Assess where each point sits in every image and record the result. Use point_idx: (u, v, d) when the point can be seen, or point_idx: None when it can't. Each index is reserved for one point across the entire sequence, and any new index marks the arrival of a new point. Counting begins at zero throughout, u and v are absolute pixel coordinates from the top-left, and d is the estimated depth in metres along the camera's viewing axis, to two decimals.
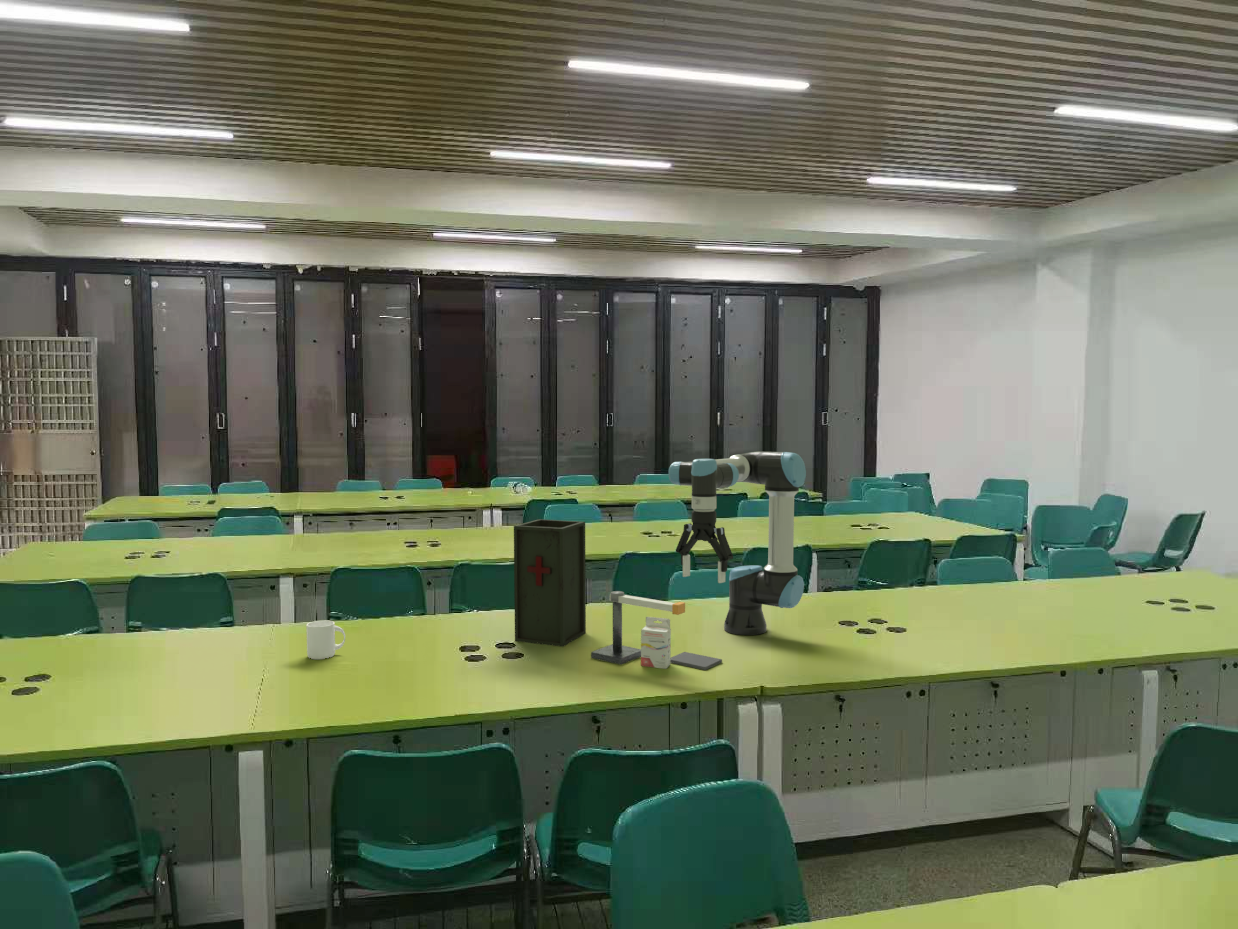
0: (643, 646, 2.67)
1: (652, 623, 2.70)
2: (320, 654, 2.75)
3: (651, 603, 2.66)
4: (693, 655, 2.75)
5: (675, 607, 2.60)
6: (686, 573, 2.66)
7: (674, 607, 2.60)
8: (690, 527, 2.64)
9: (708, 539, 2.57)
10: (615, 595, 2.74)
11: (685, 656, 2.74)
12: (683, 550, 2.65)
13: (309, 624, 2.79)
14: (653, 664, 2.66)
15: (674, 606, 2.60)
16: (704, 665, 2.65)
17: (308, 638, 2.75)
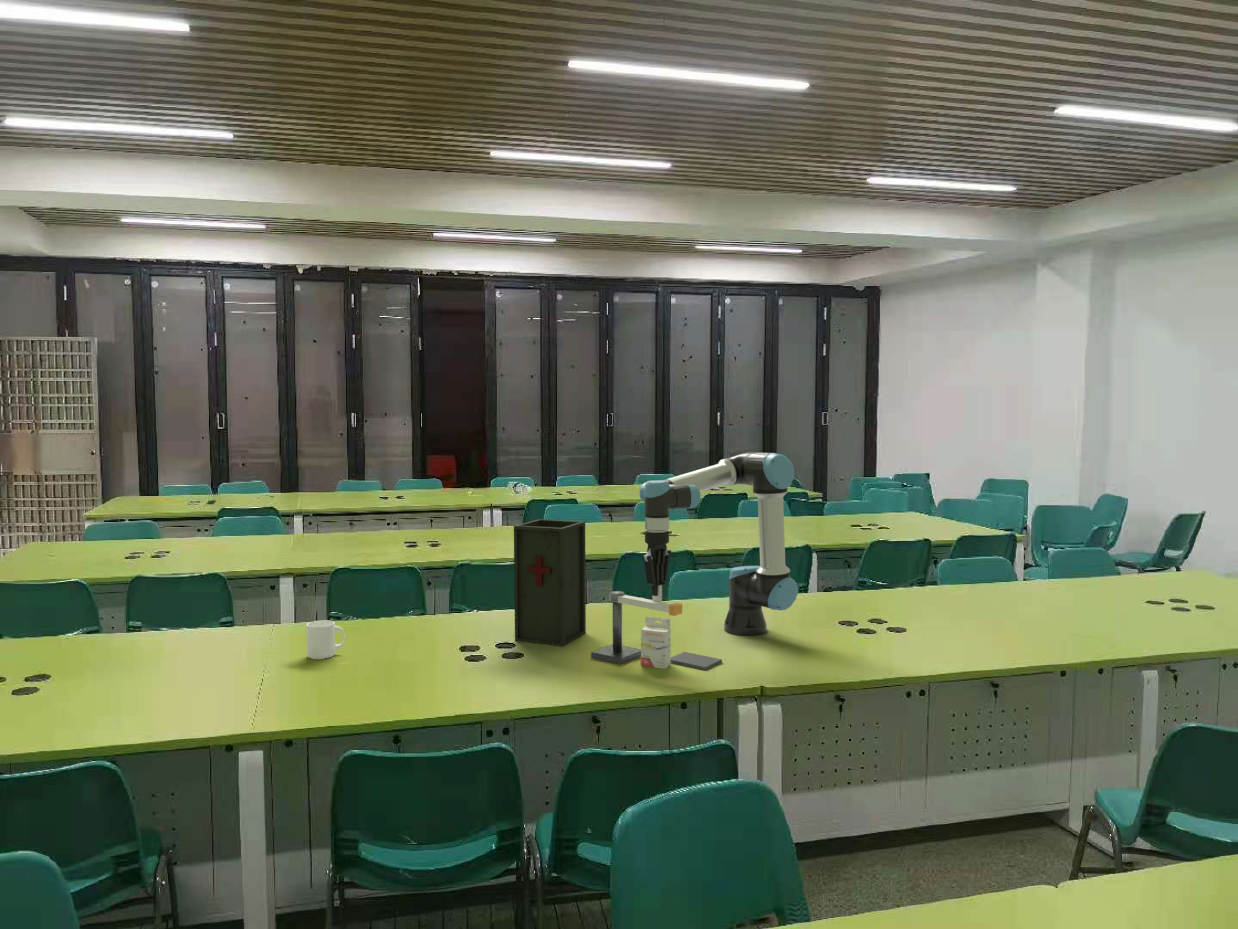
0: (643, 646, 2.67)
1: (652, 623, 2.70)
2: (320, 654, 2.75)
3: (649, 604, 2.65)
4: (693, 655, 2.75)
5: (671, 608, 2.59)
6: None
7: (670, 608, 2.59)
8: None
9: None
10: (615, 595, 2.74)
11: (685, 656, 2.74)
12: None
13: (309, 624, 2.79)
14: (653, 664, 2.66)
15: (670, 607, 2.59)
16: (704, 665, 2.65)
17: (308, 638, 2.75)
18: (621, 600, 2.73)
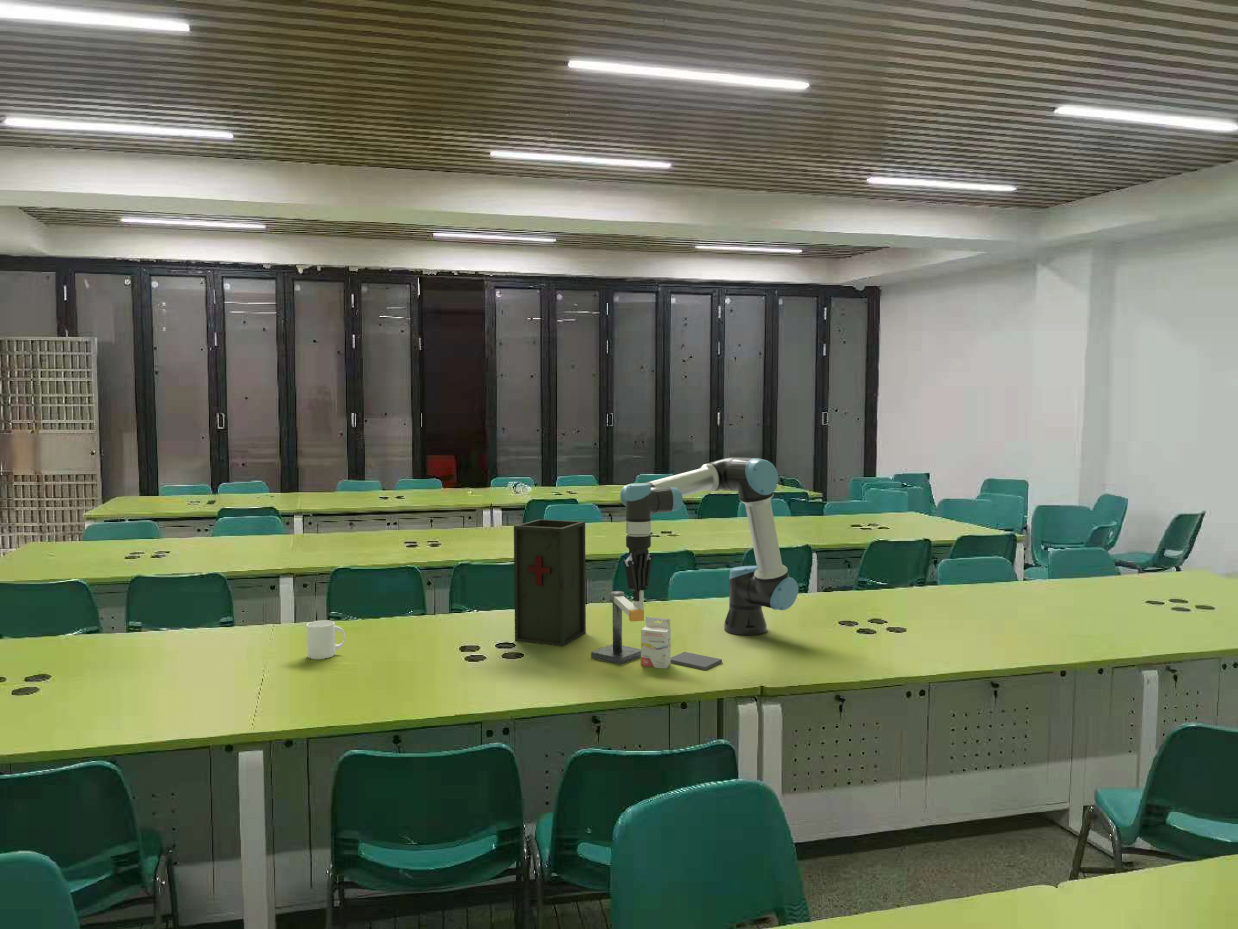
0: (643, 646, 2.67)
1: (652, 623, 2.70)
2: (320, 654, 2.75)
3: (623, 606, 2.62)
4: (693, 655, 2.75)
5: (630, 613, 2.52)
6: None
7: (629, 613, 2.53)
8: None
9: None
10: (611, 594, 2.74)
11: (685, 656, 2.74)
12: None
13: (309, 624, 2.79)
14: (653, 664, 2.66)
15: (629, 612, 2.53)
16: (704, 665, 2.65)
17: (308, 638, 2.75)
18: (615, 600, 2.73)
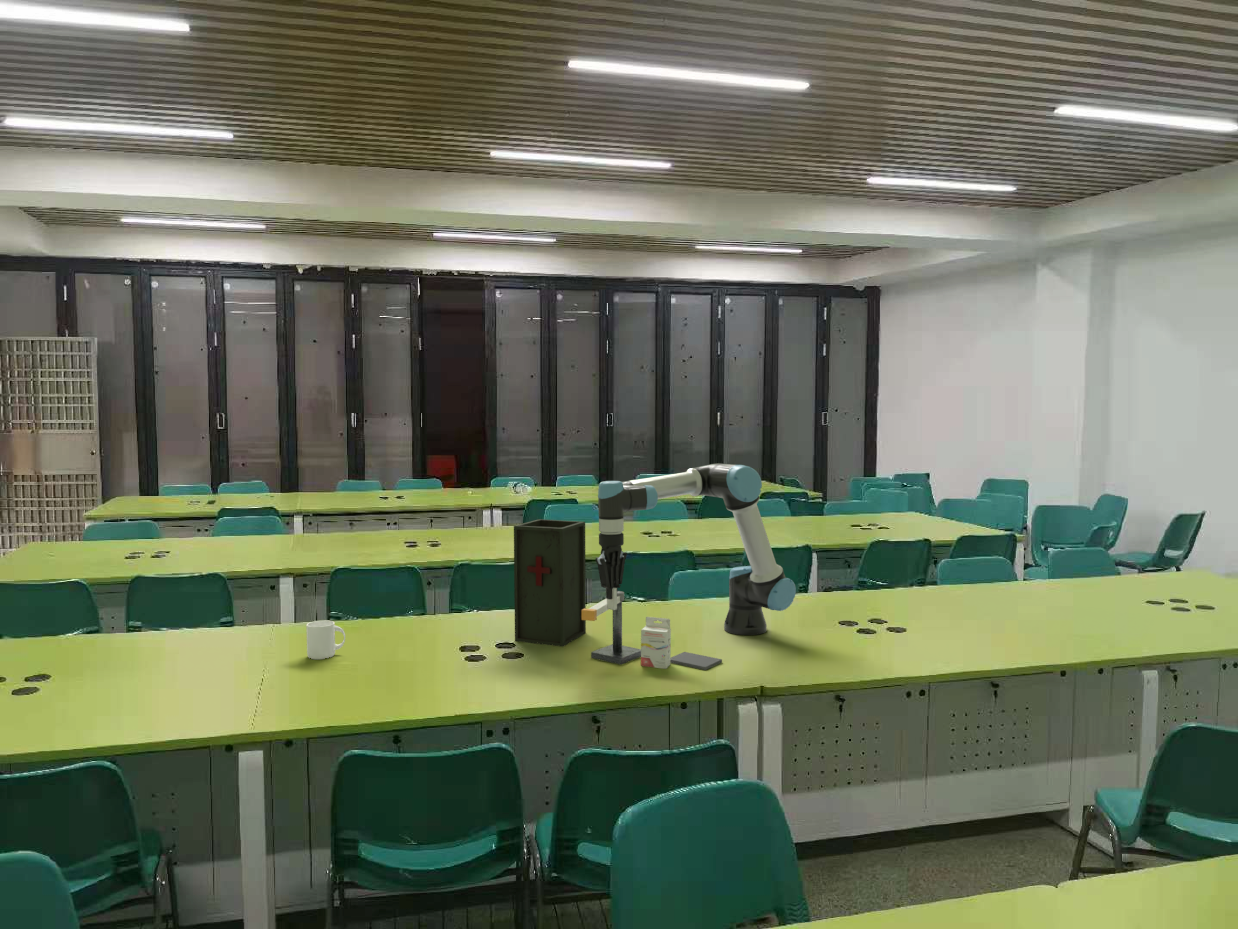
0: (643, 646, 2.67)
1: (652, 623, 2.70)
2: (320, 654, 2.75)
3: None
4: (693, 655, 2.75)
5: None
6: None
7: None
8: None
9: None
10: None
11: (685, 656, 2.74)
12: None
13: (309, 624, 2.79)
14: (653, 664, 2.66)
15: None
16: (704, 665, 2.65)
17: (308, 638, 2.75)
18: None
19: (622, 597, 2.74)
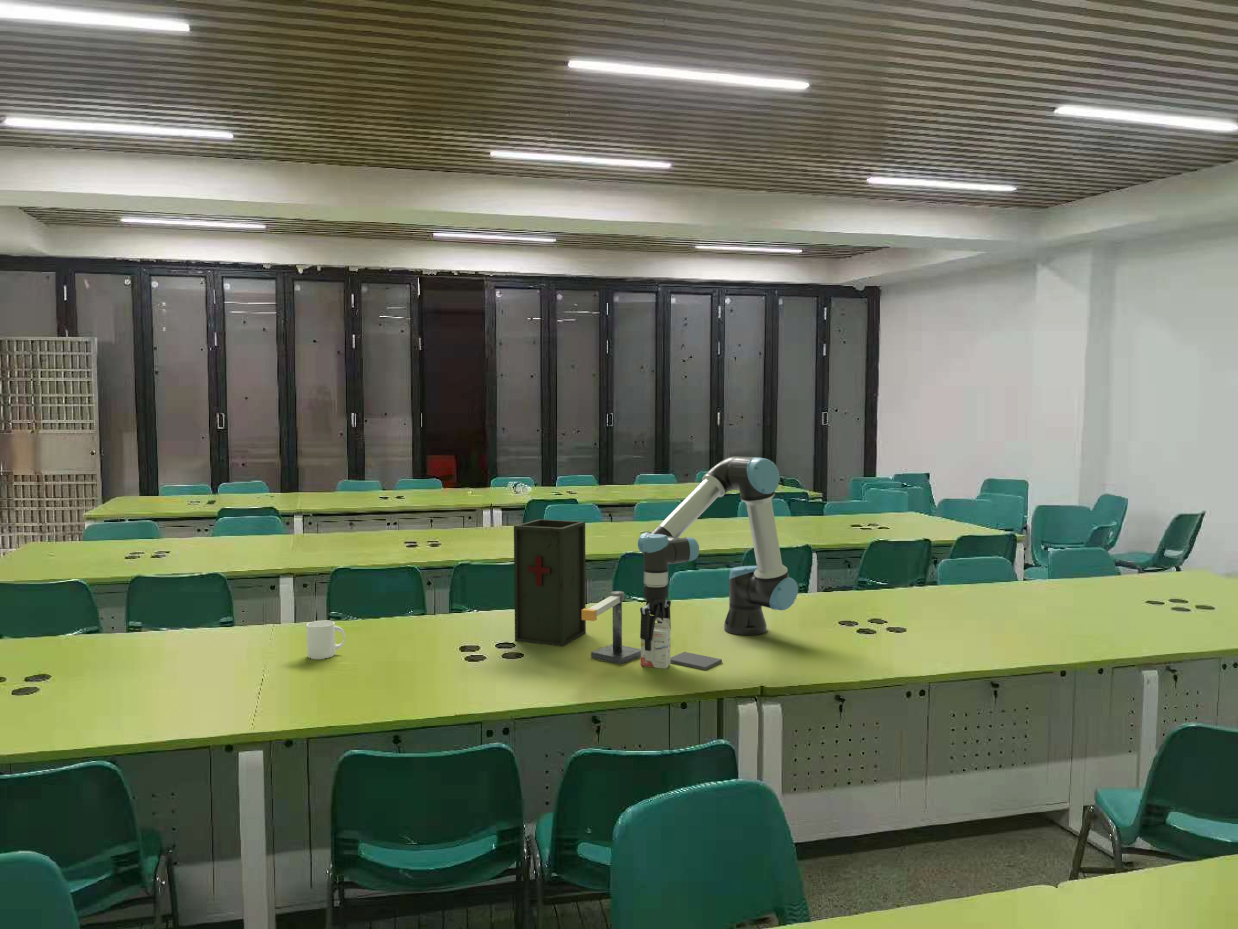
0: (643, 646, 2.67)
1: None
2: (320, 654, 2.75)
3: None
4: (693, 655, 2.75)
5: None
6: None
7: None
8: None
9: None
10: (610, 594, 2.76)
11: (685, 656, 2.74)
12: None
13: (309, 624, 2.79)
14: (653, 664, 2.66)
15: None
16: (704, 665, 2.65)
17: (308, 638, 2.75)
18: None
19: (622, 597, 2.74)
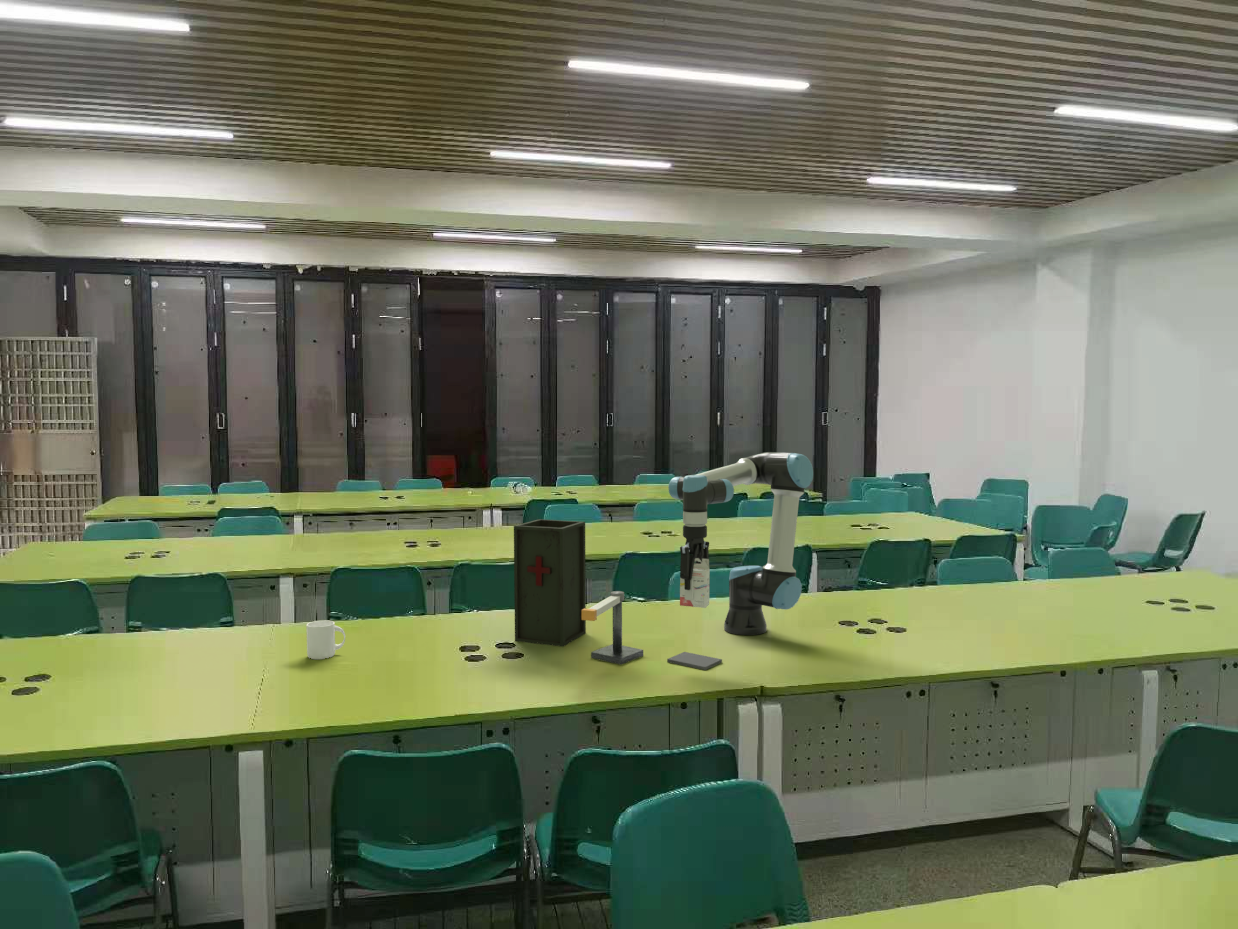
0: (682, 586, 2.69)
1: None
2: (320, 654, 2.75)
3: None
4: (693, 655, 2.75)
5: None
6: None
7: None
8: None
9: None
10: (610, 594, 2.76)
11: (685, 656, 2.74)
12: None
13: (309, 624, 2.79)
14: (693, 603, 2.68)
15: None
16: (704, 665, 2.65)
17: (308, 638, 2.75)
18: None
19: (622, 597, 2.74)
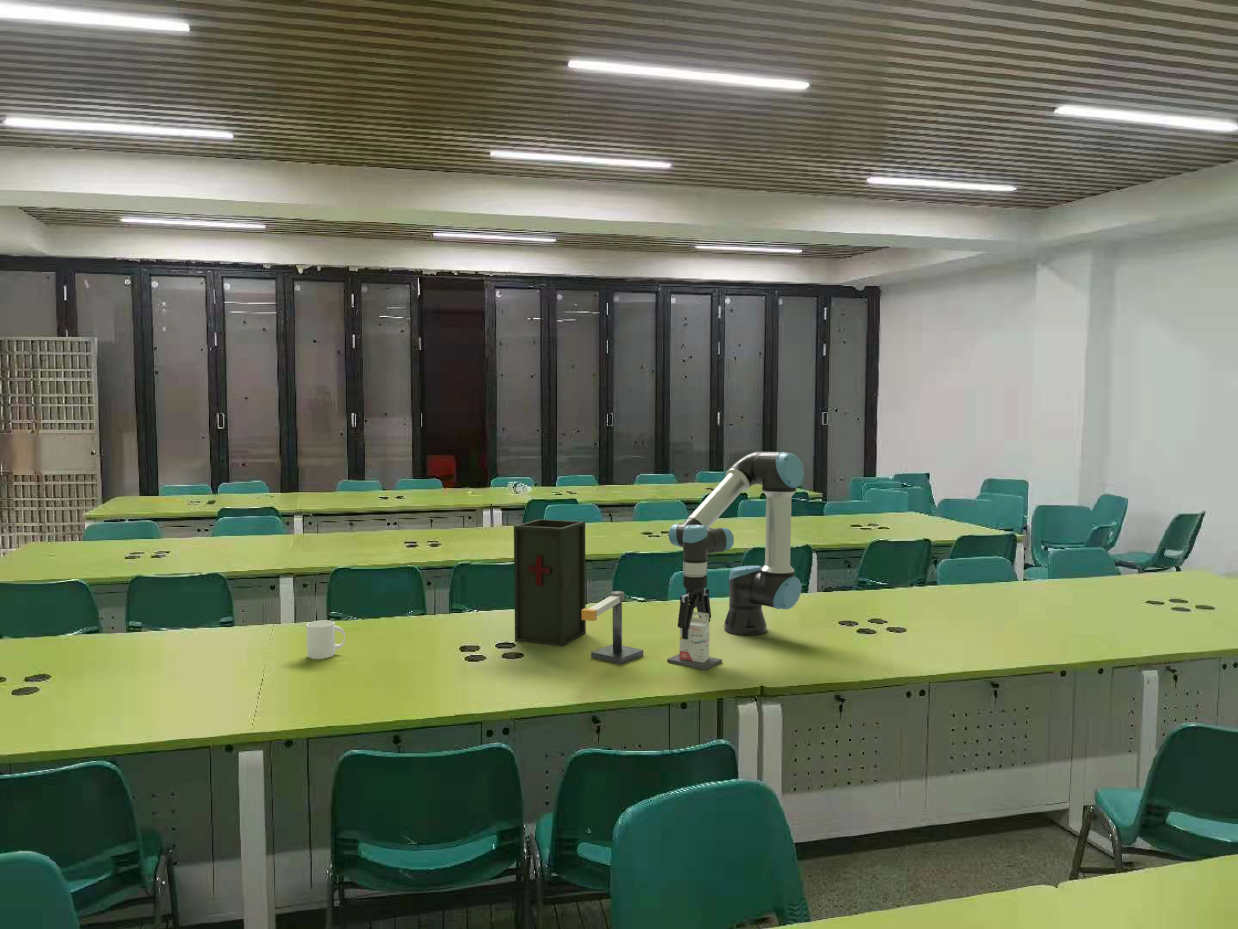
0: None
1: None
2: (320, 654, 2.75)
3: None
4: None
5: None
6: None
7: None
8: None
9: None
10: (610, 594, 2.76)
11: None
12: None
13: (309, 624, 2.79)
14: (692, 658, 2.69)
15: None
16: (704, 665, 2.65)
17: (308, 638, 2.75)
18: None
19: (622, 597, 2.74)
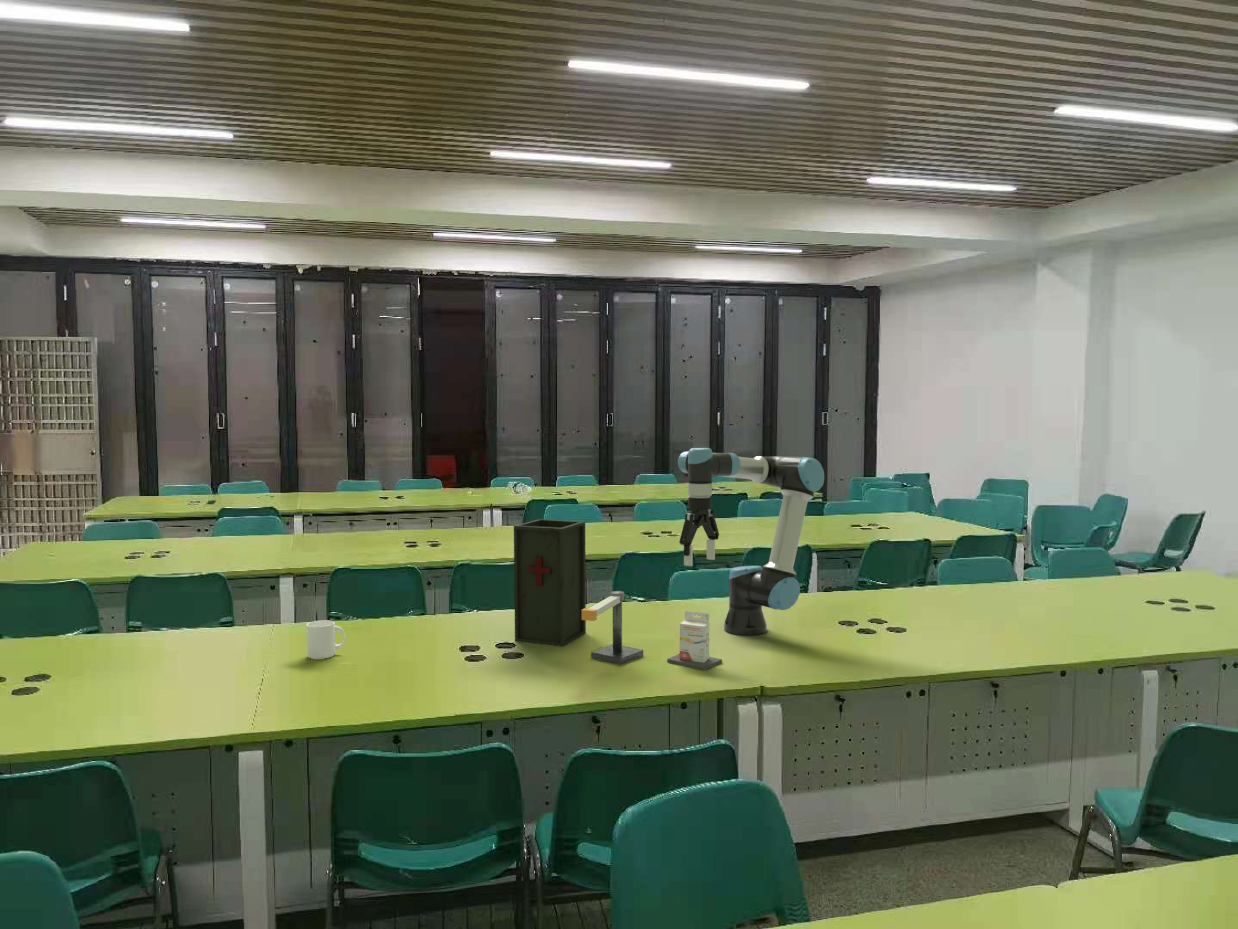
0: (682, 640, 2.70)
1: (691, 617, 2.73)
2: (320, 654, 2.75)
3: None
4: None
5: None
6: (709, 557, 2.80)
7: None
8: None
9: None
10: (610, 594, 2.76)
11: None
12: None
13: (309, 624, 2.79)
14: (692, 658, 2.69)
15: None
16: (704, 665, 2.65)
17: (308, 638, 2.75)
18: None
19: (622, 597, 2.74)
